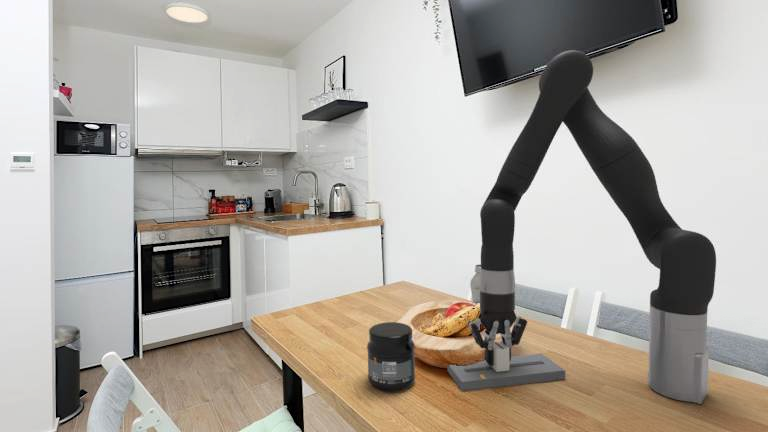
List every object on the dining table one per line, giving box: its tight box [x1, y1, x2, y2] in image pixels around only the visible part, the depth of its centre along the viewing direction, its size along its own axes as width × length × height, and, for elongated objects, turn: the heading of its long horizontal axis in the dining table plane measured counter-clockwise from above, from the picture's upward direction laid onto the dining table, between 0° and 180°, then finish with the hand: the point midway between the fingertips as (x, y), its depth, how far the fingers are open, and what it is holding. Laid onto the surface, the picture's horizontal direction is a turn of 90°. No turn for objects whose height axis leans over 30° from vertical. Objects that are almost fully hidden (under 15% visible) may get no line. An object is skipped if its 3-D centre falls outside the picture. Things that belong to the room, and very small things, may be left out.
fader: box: [491, 340, 509, 372], centre depth 85 cm, size 3×5×5 cm, turn 10°
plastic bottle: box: [469, 264, 481, 304], centre depth 111 cm, size 6×7×20 cm
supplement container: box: [366, 321, 416, 393], centre depth 84 cm, size 10×10×12 cm
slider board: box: [447, 352, 566, 392], centre depth 86 cm, size 24×9×2 cm, turn 100°
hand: (497, 363), depth 85 cm, fingers closed on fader, 3 cm apart
